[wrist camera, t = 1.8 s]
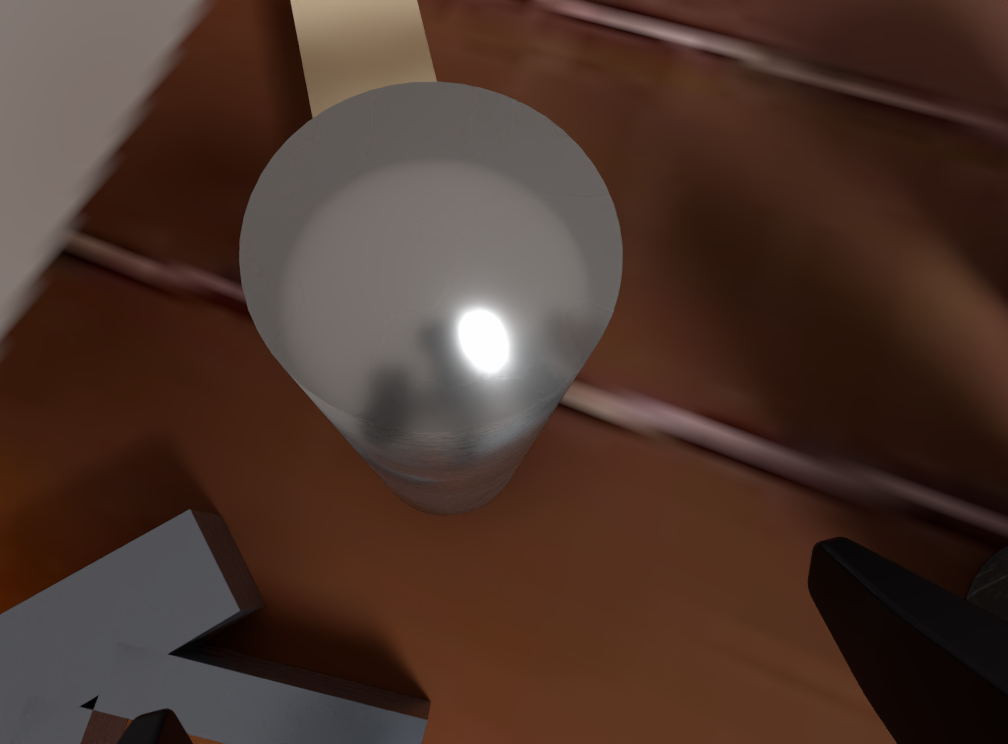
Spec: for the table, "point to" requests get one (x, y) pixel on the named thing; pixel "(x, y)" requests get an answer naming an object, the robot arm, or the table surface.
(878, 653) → the robot arm
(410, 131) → the grey metallic cylinder
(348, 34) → the beam
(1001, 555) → the travel mug
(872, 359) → the table surface
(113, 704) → the grey flat branched piece
